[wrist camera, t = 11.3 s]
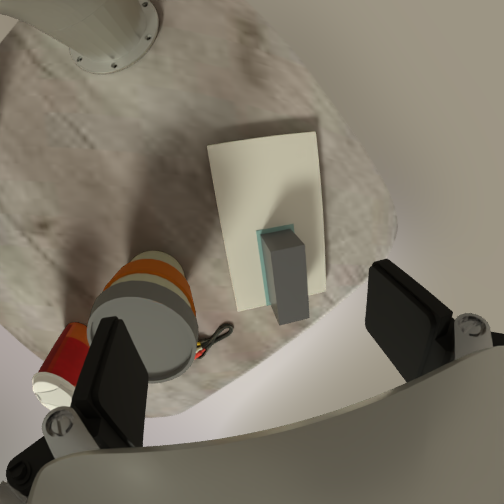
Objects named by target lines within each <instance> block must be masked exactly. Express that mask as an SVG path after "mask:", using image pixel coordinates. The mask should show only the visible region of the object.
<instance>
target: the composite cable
mask: <svg viewBox="0 0 504 504" xmlns="http://www.w3.org/2000/svg"><path fill="white" fill-rule="evenodd" d="M226 328H229V331H228V332H227V333H226V334H224V335H222V336H220V337H217V336H218V335H219V334H220V333H221V332H222V331H223V330H224V329H226ZM232 332H233V327H232V326H231V325H230V324H223V325H222V326H220V327H219V328H218V329H217V330H216V332H215V333H214V335H213V336H212V337H211V338H210V339H202V340H199V341H198V342H197V350H196V355H195V359H201V358H203V357H204V356H205V355H206V353H207V351H208V350H209V348H210V347H211V346H212V345H213V344H215V343H216V342H218V341H220V340H222V339H224V338H226V337H228V336H229V335H230V334H231V333H232ZM216 337H217V338H216ZM206 348H207V349H206ZM204 351H205V352H204ZM202 352H204V353H203V355H202Z"/></svg>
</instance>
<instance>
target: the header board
mask: <svg viewBox="0 0 504 504" xmlns="http://www.w3.org/2000/svg"><path fill="white" fill-rule="evenodd" d="M207 151H208V157H209V163H210V168H211V174H212V180H213V186H214V191H215V197H216V202H217V208H218V213H219V219H220V224H221V229H222V235H223V240H224V245H225V250H226V256H227V261H228V266H229V271H230V276H231V281H232V286H233V291H234V296H235V301H236V306H237V310H238V311H243V310H248V309H252V308H257V307H262V306H266V305H267V306H268V305H271V304H270V302H269V295H268V287H267V280H266V273H265V266H264V259H263V251H262V244H261V237H260V234H265V233H271V232H276V231H281V230H286V229H291V230H292V231H293V232H294V233H295V234H296V235H297V237H298V238H299V239H300V240H301V241H302V242H303V243H304V244H305V253H306V267H307V283H308V296H309V295H313V294H317V293H321V292H325V291H326V269H325V242H324V223H323V207H322V193H321V180H320V169H319V158H318V148H317V139H316V132H300V133H290V134H281V135H272V136H265V137H257V138H250V139H243V140H237V141H230V142H224V143H218V144H213V145H207Z"/></svg>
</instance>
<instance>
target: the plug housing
mask: <svg viewBox="0 0 504 504" xmlns="http://www.w3.org/2000/svg"><path fill="white" fill-rule="evenodd" d="M260 237H261V244H262V251H263V259H264V266H265V273H266V280H267V287H268V295H269V302H270V304H271V307H272V309H273V311H274V314H275V316H276V319H277V321H278V323H279V325H283V324H287V323H291V322H295V321H299V320H303V319H307V318H309V301H308V283H307V267H306V253H305V244H304V243H303V242H302V241H301V240H300V239H299V238H298V237H297V235H296V234H295V233H294V232H293V231H292V230H291V229H286V230H281V231H276V232H271V233H265V234H260Z"/></svg>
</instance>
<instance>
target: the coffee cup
mask: <svg viewBox="0 0 504 504" xmlns="http://www.w3.org/2000/svg"><path fill="white" fill-rule="evenodd" d="M89 348H90V346H89V343H88V339H87V326H85V325H84V324H81V323H77V322H73V323H70V324H68V325H67V326H66V328H65V329H64V330H63V332H62V333H61V335H60V337H59V338H58V340H57V341H56V343H55V344H54V346H53V348H52V349H51V351H50V353H49V354H48V356H47V358H46V359H45V361H44V363H43V365H42V366H41V368H40V370H39V372H38V373H36V374H35V375H34V376H33V379H32V383H33V386H32V389H33V392H35V395H36V397H37V398H38V399H39V400H40V402H41V403H42V404H43V405H44V406H45V407H47V408H48V409H50V410H53V409H55V408H57V407H61V406H68V407H70V405H71V402H72V400H71V399H72V396H73V393H74V390H75V387H76V384H77V381H78V378H79V375H80V372H81V369H82V367H83V364H84V361H85V358H86V356H87V353H88V350H89Z"/></svg>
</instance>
